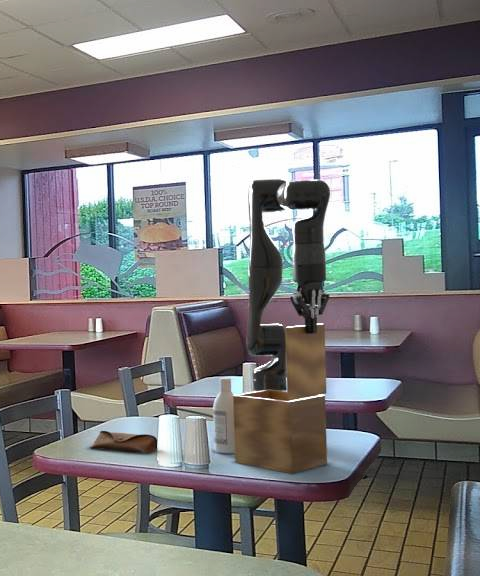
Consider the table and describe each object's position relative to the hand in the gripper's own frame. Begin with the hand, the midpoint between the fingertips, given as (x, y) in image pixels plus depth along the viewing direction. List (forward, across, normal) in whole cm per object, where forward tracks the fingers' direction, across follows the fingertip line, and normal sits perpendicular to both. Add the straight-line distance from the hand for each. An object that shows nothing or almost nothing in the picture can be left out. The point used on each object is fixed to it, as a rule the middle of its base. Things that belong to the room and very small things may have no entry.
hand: (311, 333), depth 200 cm
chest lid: (+7, 0, -2) cm, 7 cm away
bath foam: (+34, -1, -28) cm, 44 cm away
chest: (+33, 0, -10) cm, 35 cm away
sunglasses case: (+34, +16, -50) cm, 62 cm away
